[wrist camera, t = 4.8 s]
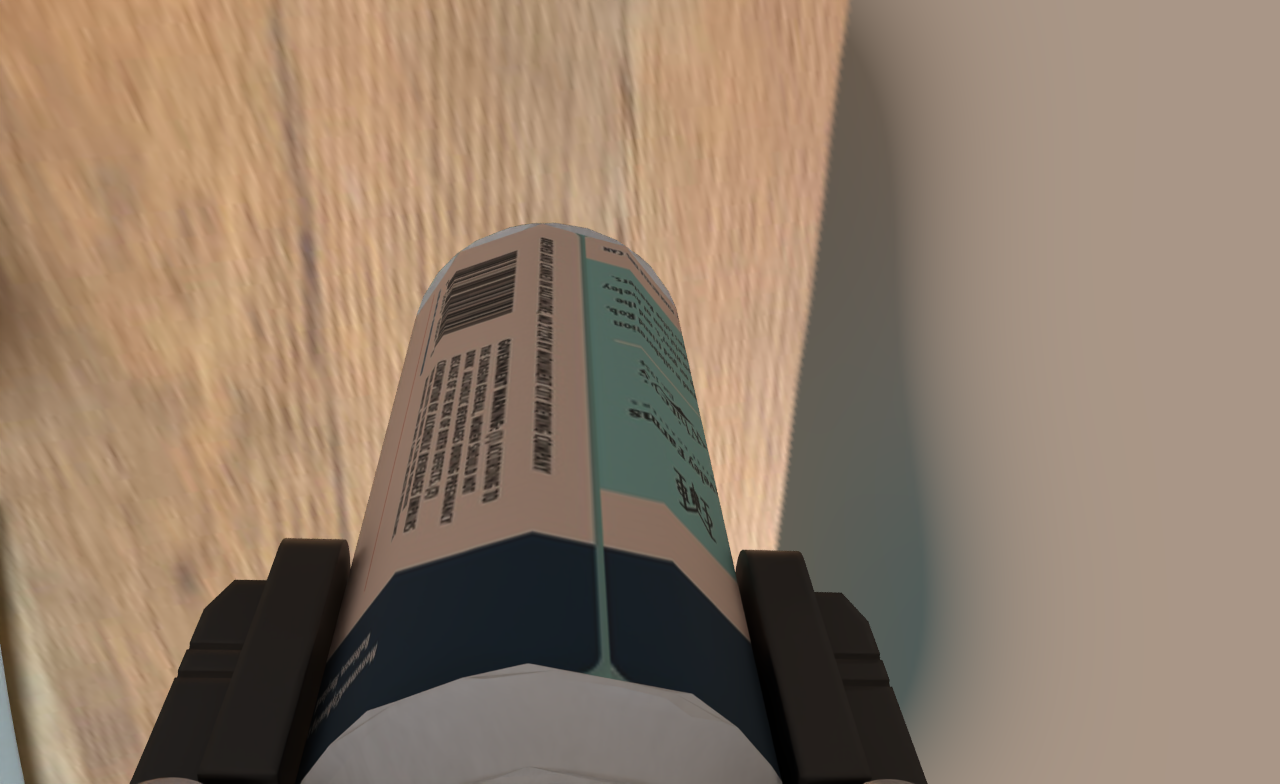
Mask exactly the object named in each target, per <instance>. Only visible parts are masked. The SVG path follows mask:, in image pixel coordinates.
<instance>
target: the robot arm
mask: <svg viewBox="0 0 1280 784" xmlns="http://www.w3.org/2000/svg"><path fill="white" fill-rule="evenodd" d="M350 570H351V568H350V554H349V546H348V543H347V541H346V540H341V539H296V538H285V539H283V540H282V542H281V543H280V546H279V548H278V551H277V554H276V556H275V559H274V562H273V565H272V567H271V570H270V573H269V576H268V579H267V580H234V581H233V582H232V583H231V584H230V585H229V586H228V587H227V588H226V589H225V590H223V591H222V592H221V593H220V594H219V595H218V596H217V597H216V598H215V599H214V600H213V601H212V602H211V603H210V604H209V605H208V606H207V607H206V608H205V609H204V610H203V613H202V615H201V617H200V620H199V622H198V624H197V627H196V629H195V632H194V634H193V636H192V639H191V641H190V648H189V649H187V650H186V653H185V655H184V657H183V660H182V662H181V665H180V667H179V669H178V676H177V678H175V679H174V681H173V683H172V686H171V688H170V690H169V693H168V695H167V698H166V700H165V702H164V705H163V707H162V709H161V712H160V714H159V716H158V719H157V721H156V723H155V726H154V728H153V731H152V733H151V735H150V738H149V740H148V742H147V745H146V747H145V749H144V752H143V754H142V756H141V759H140V761H139V764H138V766H137V768H136V771H135V773H134V775H133V778H132V780H131V782H130V784H295V781H296V778H297V774H298V770H299V766H300V762H301V758H302V754H303V751H304V747H305V743H306V739H307V735H308V731H309V727H310V724H311V720H312V716H313V712H314V708H315V704H316V700H317V697H318V693H319V689H320V685H321V681H322V677H323V674H324V670H325V666H326V662H327V658H328V654H329V650H330V647H331V643H332V639H333V635H334V631H335V627H336V623H337V620H338V616H339V612H340V608H341V604H342V600H343V596H344V593H345V589H346V585H347V581H348V577H349V573H350ZM735 574H736V578H737V583H738V587H739V592H740V596H741V601H742V605H743V609H744V614H745V618H746V623H747V627H748V632H749V636H750V641H751V645H752V650H753V654H754V659H755V663H756V668H757V672H758V677H759V681H760V686H761V690H762V695H763V699H764V703H765V708H766V712H767V717H768V721H769V726H770V730H771V735H772V739H773V744H774V748H775V753H776V757H777V762H778V766H779V771H780V775H781V780H782V784H927V781H926V779H925V776H924V773H923V770H922V767H921V765H920V762H919V759H918V756H917V754H916V751H915V748H914V745H913V743H912V740H911V737H910V735H909V732H908V729H907V726H906V724H905V721H904V719H903V715H902V713H901V710H900V707H899V704H898V702H897V699H896V696H895V694H894V691H893V688H892V687H890V685H889V677H888V674H887V672H886V669H885V666H884V663H883V661H882V660H880V653H879V650H878V647H877V644H876V642H875V639H874V636H873V633H872V631H871V628H870V626H869V622H868V621H867V620H866V619H865V617H864V616H863V615H862V614H861V613H860V612H859V611H858V610H857V609H856V608H855V607H854V606H853V605H852V603H850V601H849V600H848V599H847V598H846V597H845V596H844V595H843V594H842V593H832V592H829V593H828V592H827V593H826V592H814V590H813V586H812V583H811V580H810V577H809V574H808V570H807V567H806V564H805V561H804V558H803V556H802V554H801V553H800V552H799V551H770V550H742V551H741V552H740V554H739V557H738V560H737V566H736V572H735Z"/></svg>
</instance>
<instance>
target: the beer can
mask: <svg viewBox="0 0 1280 784" xmlns="http://www.w3.org/2000/svg"><path fill="white" fill-rule="evenodd" d="M295 784H782V780H781V775H780V771H779V766H778V762H777V757H776V753H775V748H774V744H773V739H772V735H771V730H770V726H769V721H768V717H767V712H766V708H765V703H764V699H763V695H762V690H761V686H760V681H759V677H758V672H757V668H756V663H755V659H754V654H753V650H752V645H751V641H750V636H749V632H748V627H747V623H746V618H745V614H744V609H743V605H742V601H741V596H740V592H739V587H738V583H737V578H736V574H735V569H734V565H733V560H732V556H731V551H730V547H729V542H728V538H727V533H726V529H725V524H724V520H723V515H722V511H721V506H720V502H719V498H718V493H717V489H716V484H715V480H714V475H713V471H712V466H711V462H710V457H709V453H708V448H707V444H706V439H705V435H704V430H703V426H702V421H701V417H700V412H699V408H698V404H697V399H696V395H695V390H694V386H693V381H692V377H691V372H690V368H689V363H688V359H687V354H686V350H685V345H684V341H683V336H682V332H681V327H680V323H679V318H678V314H677V310H676V307H675V305H674V302H673V300H672V298H671V296H670V293H669V291H668V290H667V289H666V287H665V286H664V284H663V283H662V282H661V280H660V279H659V277H658V276H657V275H656V273H655V272H654V271H653V269H652V268H651V266H650V265H649V264H648V263H646V262H645V261H644V260H643V259H642V258H641V257H640V256H638V255H637V254H635V253H634V252H633V251H631V250H630V249H629V248H627V247H626V246H624V245H623V244H621V243H620V242H618V241H617V240H615V239H612V238H610V237H607V236H605V235H602V234H600V233H597V232H595V231H593V230H590V229H587V228H582V227H576V226H570V225H565V224H558V223H533V224H525V225H519V226H515V227H510V228H507V229H504V230H502V231H499V232H497V233H494V234H492V235H489V236H487V237H484V238H482V239H479V240H477V241H475V242H474V243H472V244H471V245H469V246H468V247H466V248H465V249H463V250H462V251H460V252H459V253H457V254H456V255H455V256H454V257H453V258H452V259H451V260H450V261H449V262H448V263H447V264H446V265H445V266H444V267H443V268H442V269H441V270H440V271H439V272H438V274H437V275H436V277H435V279H434V280H433V282H432V283H431V285H430V287H429V288H428V290H427V291H426V293H425V295H424V296H423V299H422V302H421V305H420V307H419V310H418V313H417V316H416V319H415V323H414V327H413V331H412V335H411V338H410V342H409V346H408V350H407V354H406V358H405V362H404V365H403V369H402V373H401V377H400V381H399V385H398V388H397V392H396V396H395V400H394V404H393V408H392V412H391V415H390V419H389V423H388V427H387V431H386V435H385V439H384V442H383V446H382V450H381V454H380V458H379V462H378V466H377V469H376V473H375V477H374V481H373V485H372V489H371V492H370V496H369V500H368V504H367V508H366V512H365V516H364V519H363V523H362V527H361V531H360V535H359V539H358V543H357V546H356V550H355V554H354V558H353V562H352V566H351V570H350V573H349V577H348V581H347V585H346V589H345V593H344V596H343V600H342V604H341V608H340V612H339V616H338V620H337V623H336V627H335V631H334V635H333V639H332V643H331V647H330V650H329V654H328V658H327V662H326V666H325V670H324V674H323V677H322V681H321V685H320V689H319V693H318V697H317V700H316V704H315V708H314V712H313V716H312V720H311V724H310V727H309V731H308V735H307V739H306V743H305V747H304V751H303V754H302V758H301V762H300V766H299V770H298V774H297V778H296V781H295Z"/></svg>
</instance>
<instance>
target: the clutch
mask: <svg viewBox="0 0 1280 784" xmlns="http://www.w3.org/2000/svg"><path fill="white" fill-rule="evenodd" d="M0 784H25V783H24V778H23V773H22V768H21V763H20V758H19V753H18V747H17V742H16V737H15V732H14V726H13V720H12V715H11V709H10V704H9V698H8V692H7V686H6V679H5V673H4V666H3V660H2V653H1V646H0Z"/></svg>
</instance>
